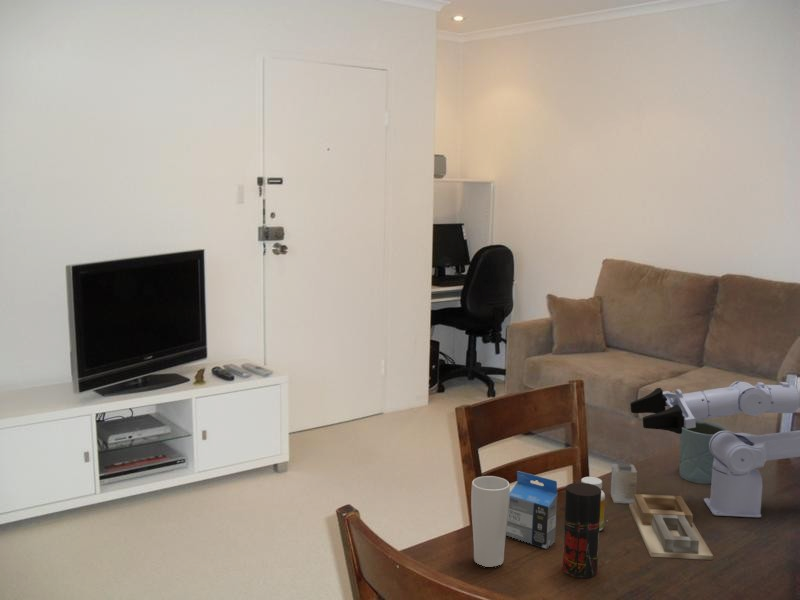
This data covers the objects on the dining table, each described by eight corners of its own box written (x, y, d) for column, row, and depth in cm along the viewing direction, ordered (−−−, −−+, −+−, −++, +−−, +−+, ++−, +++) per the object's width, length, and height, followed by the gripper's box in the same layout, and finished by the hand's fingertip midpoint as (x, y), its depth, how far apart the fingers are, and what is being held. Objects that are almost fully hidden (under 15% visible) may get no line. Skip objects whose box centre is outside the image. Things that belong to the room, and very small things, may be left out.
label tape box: (504, 537, 155) (506, 476, 153) (515, 529, 158) (517, 469, 156) (546, 550, 150) (548, 487, 148) (556, 542, 153) (558, 480, 151)
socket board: (683, 509, 168) (684, 494, 167) (712, 559, 146) (714, 542, 146) (629, 507, 169) (629, 492, 169) (650, 556, 147) (651, 539, 147)
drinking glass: (497, 575, 140) (500, 493, 138) (463, 564, 144) (464, 484, 141) (513, 559, 146) (516, 480, 144) (480, 550, 149) (482, 472, 147)
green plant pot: (673, 467, 192) (676, 419, 190) (717, 470, 191) (721, 421, 189) (681, 483, 182) (685, 432, 180) (728, 486, 181) (732, 435, 179)
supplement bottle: (601, 521, 162) (603, 475, 160) (605, 533, 157) (607, 486, 155) (574, 520, 163) (576, 474, 161) (577, 532, 157) (579, 484, 156)
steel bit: (631, 495, 176) (633, 461, 174) (635, 503, 171) (637, 469, 170) (610, 494, 176) (612, 461, 175) (613, 502, 172) (615, 468, 170)
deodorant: (558, 562, 145) (562, 483, 143) (590, 561, 146) (594, 482, 143) (568, 578, 139) (571, 496, 137) (601, 577, 140) (606, 495, 137)
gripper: (688, 374, 171) (624, 384, 171) (716, 400, 157) (647, 411, 157) (689, 404, 173) (627, 414, 173) (718, 433, 159) (650, 444, 159)
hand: (637, 415), depth 165 cm, fingers open, 7 cm apart
